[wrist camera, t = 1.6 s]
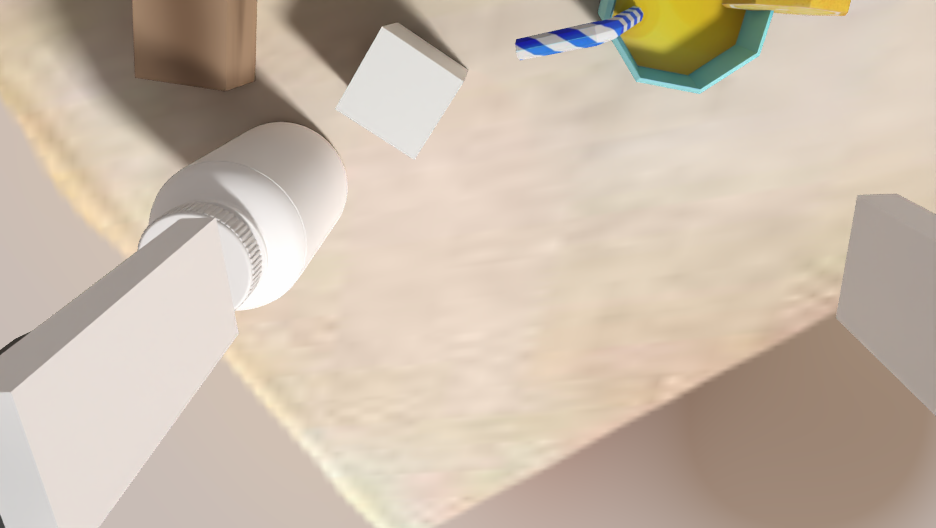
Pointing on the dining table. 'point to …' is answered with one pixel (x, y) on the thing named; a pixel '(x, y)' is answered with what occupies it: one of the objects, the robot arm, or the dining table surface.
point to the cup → (678, 36)
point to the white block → (402, 89)
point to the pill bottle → (260, 205)
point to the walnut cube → (195, 42)
